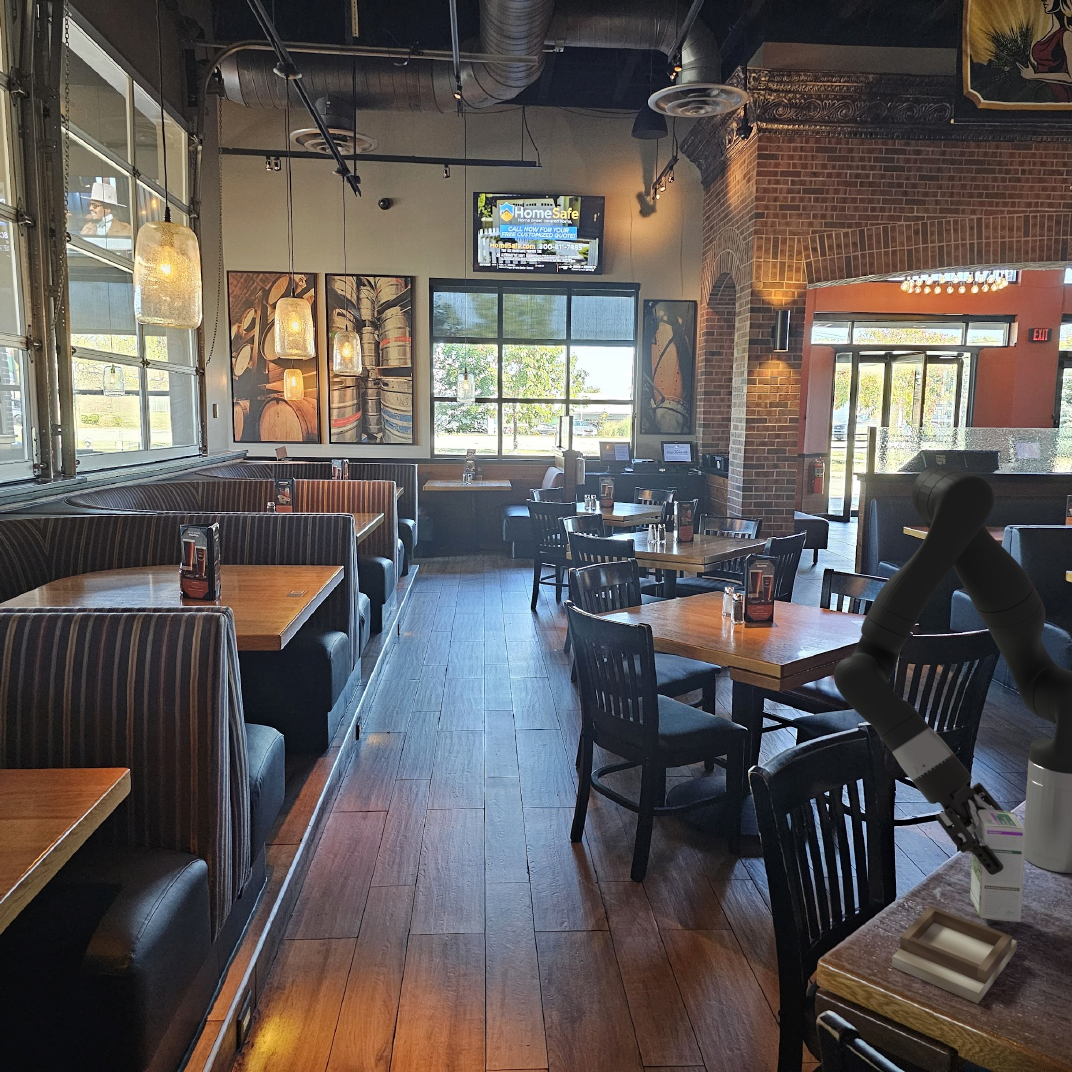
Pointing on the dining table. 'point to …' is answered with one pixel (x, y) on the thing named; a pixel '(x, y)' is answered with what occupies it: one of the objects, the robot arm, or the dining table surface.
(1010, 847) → the syrup box
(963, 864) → the dining table surface
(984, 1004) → the dining table surface
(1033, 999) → the dining table surface
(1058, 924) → the dining table surface
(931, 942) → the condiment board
